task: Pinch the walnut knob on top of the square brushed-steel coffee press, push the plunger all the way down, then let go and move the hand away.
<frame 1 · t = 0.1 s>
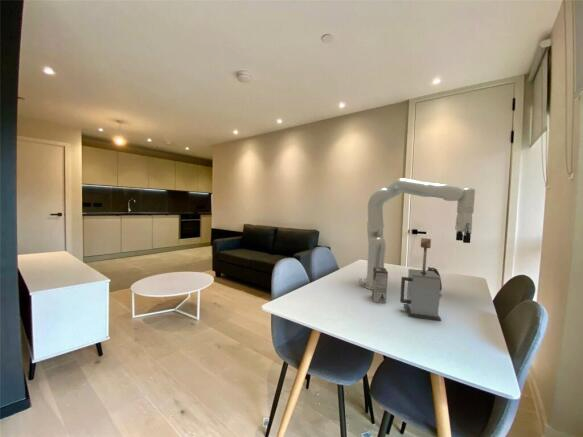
hand: (462, 241, 140), 31 cm above the table, tool pointing down, fingers open, 9 cm apart
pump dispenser: (430, 293, 145), on the table
plunger: (424, 260, 117), point 25 cm above the table, slide at 0.0 cm
press: (421, 312, 118), on the table
coffee box: (378, 299, 134), on the table
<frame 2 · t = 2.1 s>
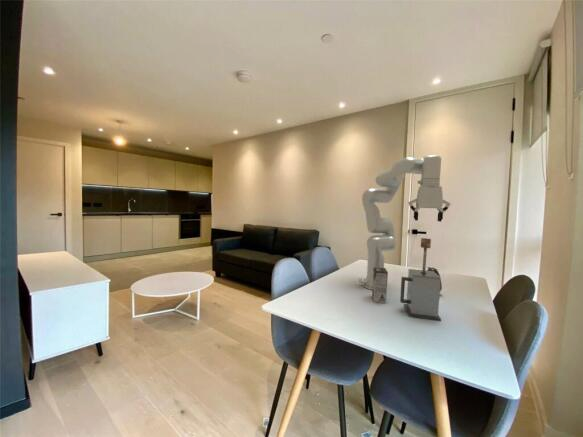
hand: (427, 220, 116), 43 cm above the table, tool pointing down, fingers open, 9 cm apart
nothing on the table moved.
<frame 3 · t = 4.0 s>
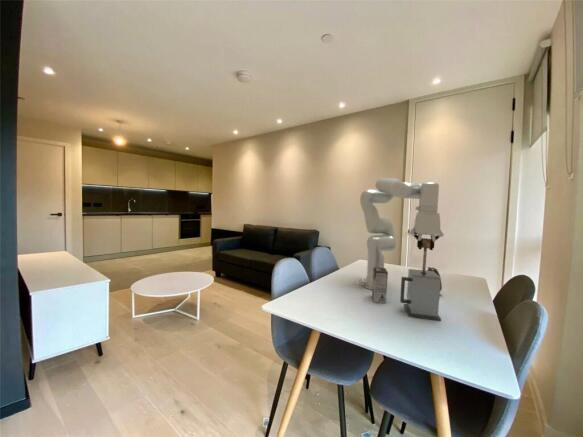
hand: (425, 248, 116), 30 cm above the table, tool pointing down, fingers closed on plunger, 4 cm apart
plunger: (424, 260, 117), point 25 cm above the table, slide at 0.0 cm, touching gripper
everything else where it was.
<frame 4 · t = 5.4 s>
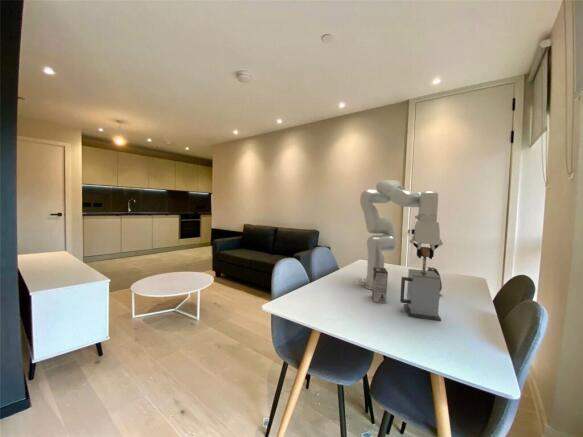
hand: (424, 257, 117), 26 cm above the table, tool pointing down, fingers closed on plunger, 4 cm apart
plunger: (423, 269, 117), point 21 cm above the table, slide at 4.1 cm, touching gripper
everything else where it was.
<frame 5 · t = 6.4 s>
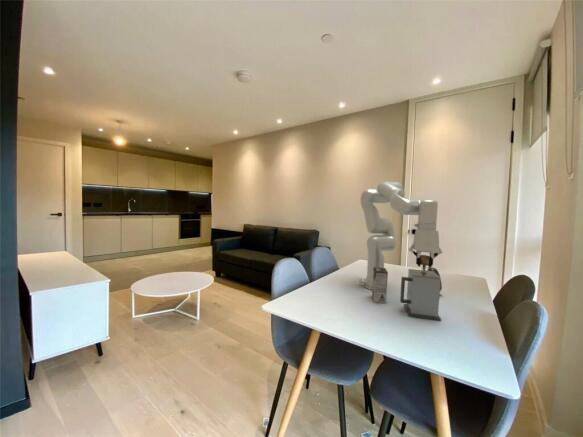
hand: (424, 265, 117), 22 cm above the table, tool pointing down, fingers closed on plunger, 4 cm apart
plunger: (423, 277, 117), point 17 cm above the table, slide at 8.0 cm, touching gripper
everything else where it was.
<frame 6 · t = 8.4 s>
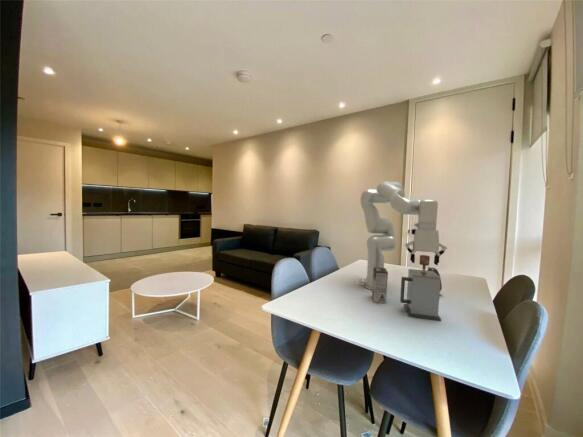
hand: (424, 263, 117), 24 cm above the table, tool pointing down, fingers open, 9 cm apart
plunger: (423, 277, 117), point 17 cm above the table, slide at 8.0 cm
everything else where it was.
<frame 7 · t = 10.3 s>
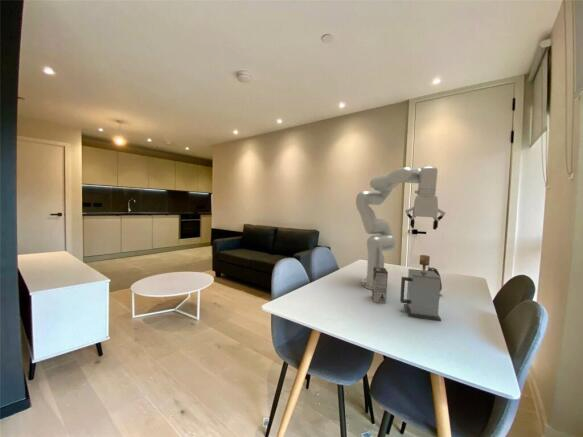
hand: (423, 228, 123), 39 cm above the table, tool pointing down, fingers open, 9 cm apart
nothing on the table moved.
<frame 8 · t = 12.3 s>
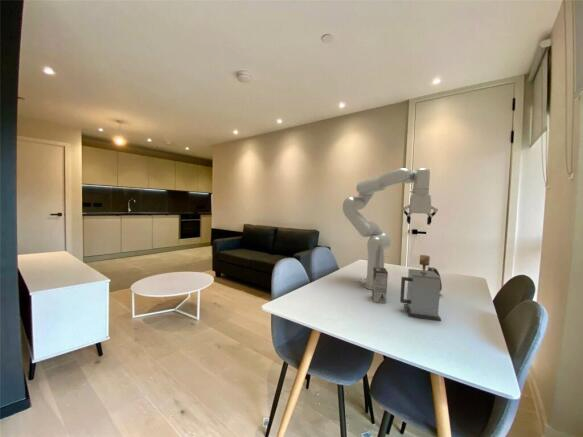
hand: (418, 224, 136), 40 cm above the table, tool pointing down, fingers open, 9 cm apart
nothing on the table moved.
at the end: plunger slide at 8.0 cm; the gripper is holding nothing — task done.
